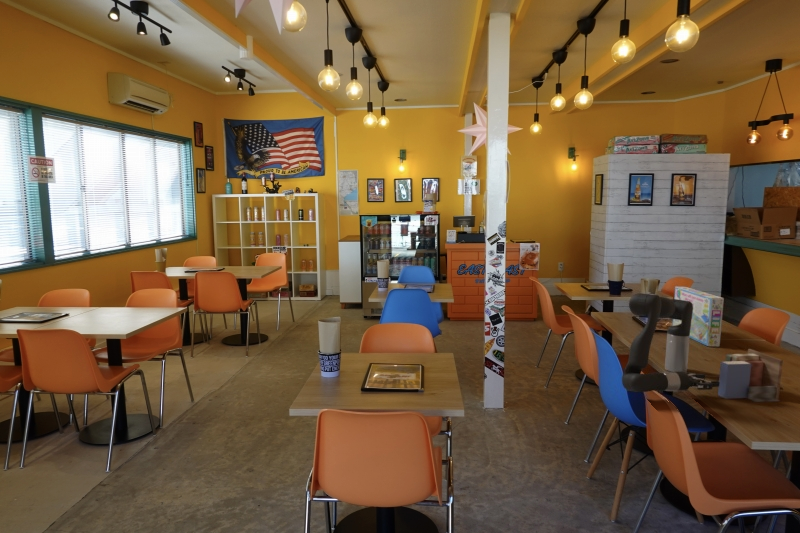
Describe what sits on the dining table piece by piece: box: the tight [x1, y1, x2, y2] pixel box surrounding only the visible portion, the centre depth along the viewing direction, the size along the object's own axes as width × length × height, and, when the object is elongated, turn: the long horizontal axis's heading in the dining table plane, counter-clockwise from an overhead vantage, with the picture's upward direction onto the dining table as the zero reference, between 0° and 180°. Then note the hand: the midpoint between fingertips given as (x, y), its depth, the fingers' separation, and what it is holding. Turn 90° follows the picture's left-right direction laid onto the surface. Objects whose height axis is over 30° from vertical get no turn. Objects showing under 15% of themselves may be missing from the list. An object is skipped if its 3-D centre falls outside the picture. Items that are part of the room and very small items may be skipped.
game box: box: [671, 286, 725, 347], centre depth 306 cm, size 40×7×27 cm, turn 178°
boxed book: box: [717, 360, 751, 400], centre depth 213 cm, size 10×4×14 cm, turn 96°
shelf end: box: [725, 348, 784, 403], centre depth 217 cm, size 12×18×16 cm, turn 6°
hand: (711, 380), depth 212 cm, fingers open, 8 cm apart
